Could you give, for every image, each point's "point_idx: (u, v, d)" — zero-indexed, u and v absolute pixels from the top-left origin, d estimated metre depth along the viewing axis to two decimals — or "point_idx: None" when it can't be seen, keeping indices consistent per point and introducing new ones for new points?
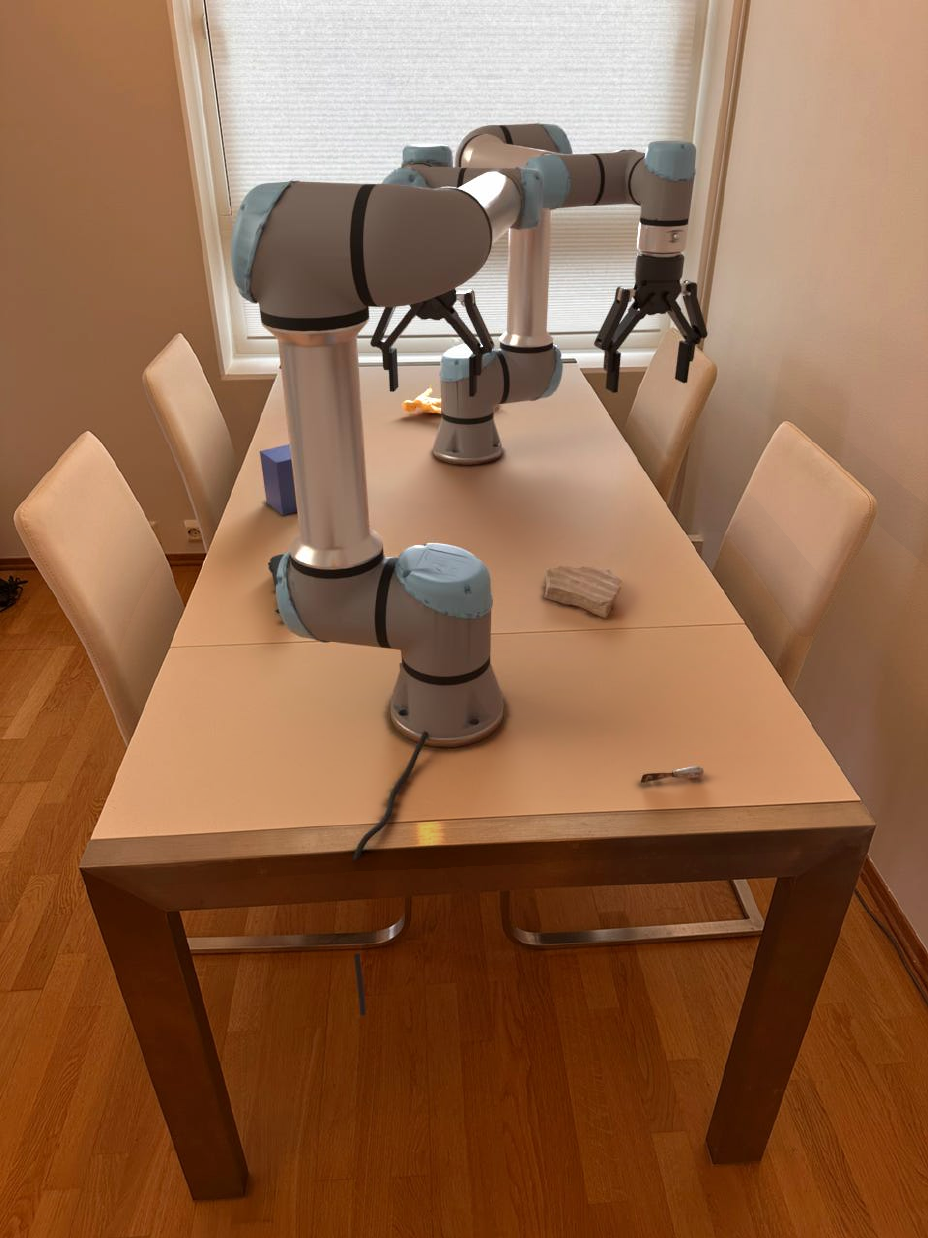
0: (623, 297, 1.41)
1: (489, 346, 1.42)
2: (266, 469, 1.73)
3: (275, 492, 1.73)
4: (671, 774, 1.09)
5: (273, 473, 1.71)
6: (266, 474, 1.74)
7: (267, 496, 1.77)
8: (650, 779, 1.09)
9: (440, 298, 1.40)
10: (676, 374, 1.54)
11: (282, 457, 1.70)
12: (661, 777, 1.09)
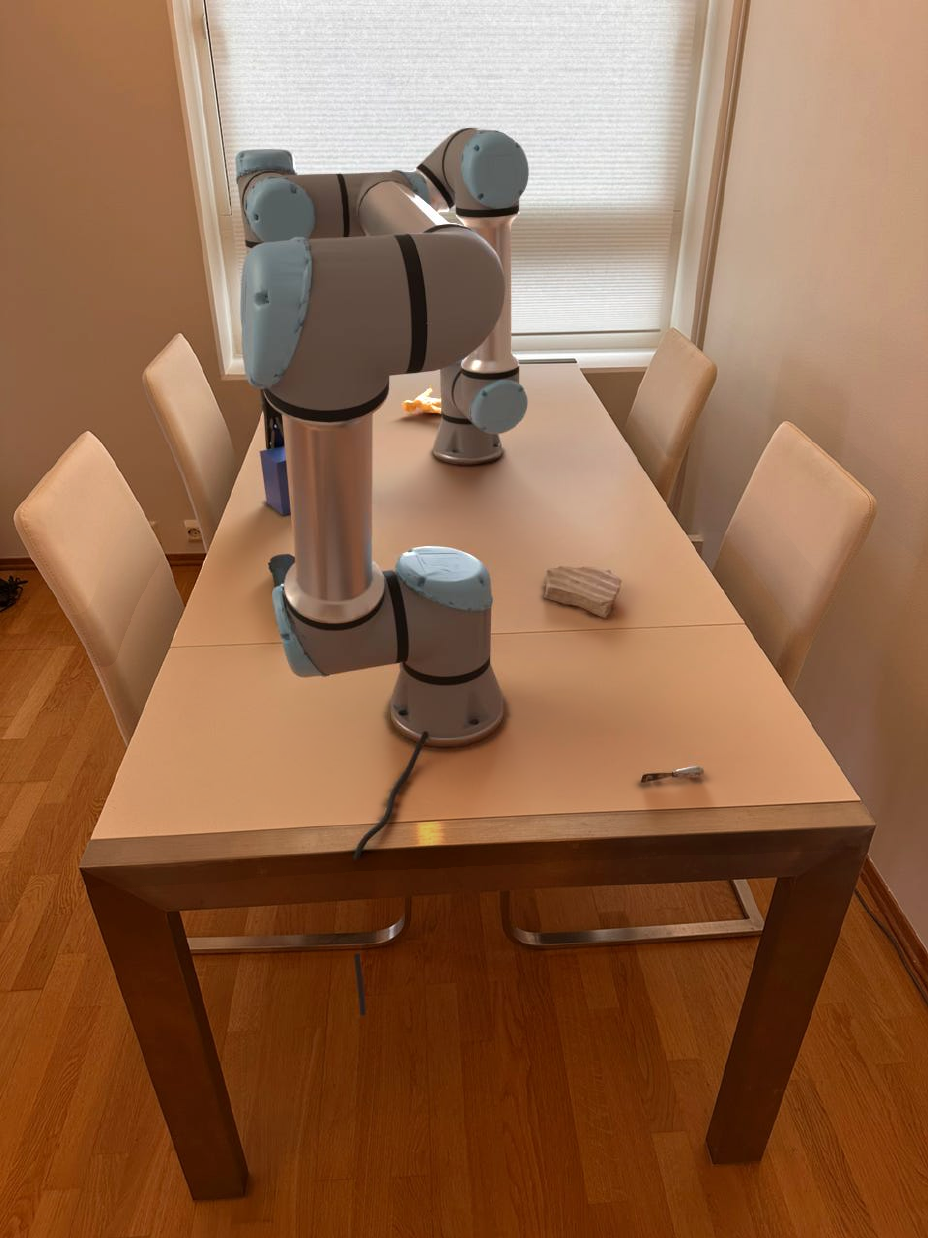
0: (263, 409, 1.73)
1: None
2: (266, 469, 1.73)
3: (275, 492, 1.73)
4: (671, 774, 1.09)
5: (273, 473, 1.71)
6: (266, 474, 1.74)
7: (267, 496, 1.77)
8: (650, 779, 1.09)
9: None
10: None
11: (282, 457, 1.70)
12: (661, 777, 1.09)
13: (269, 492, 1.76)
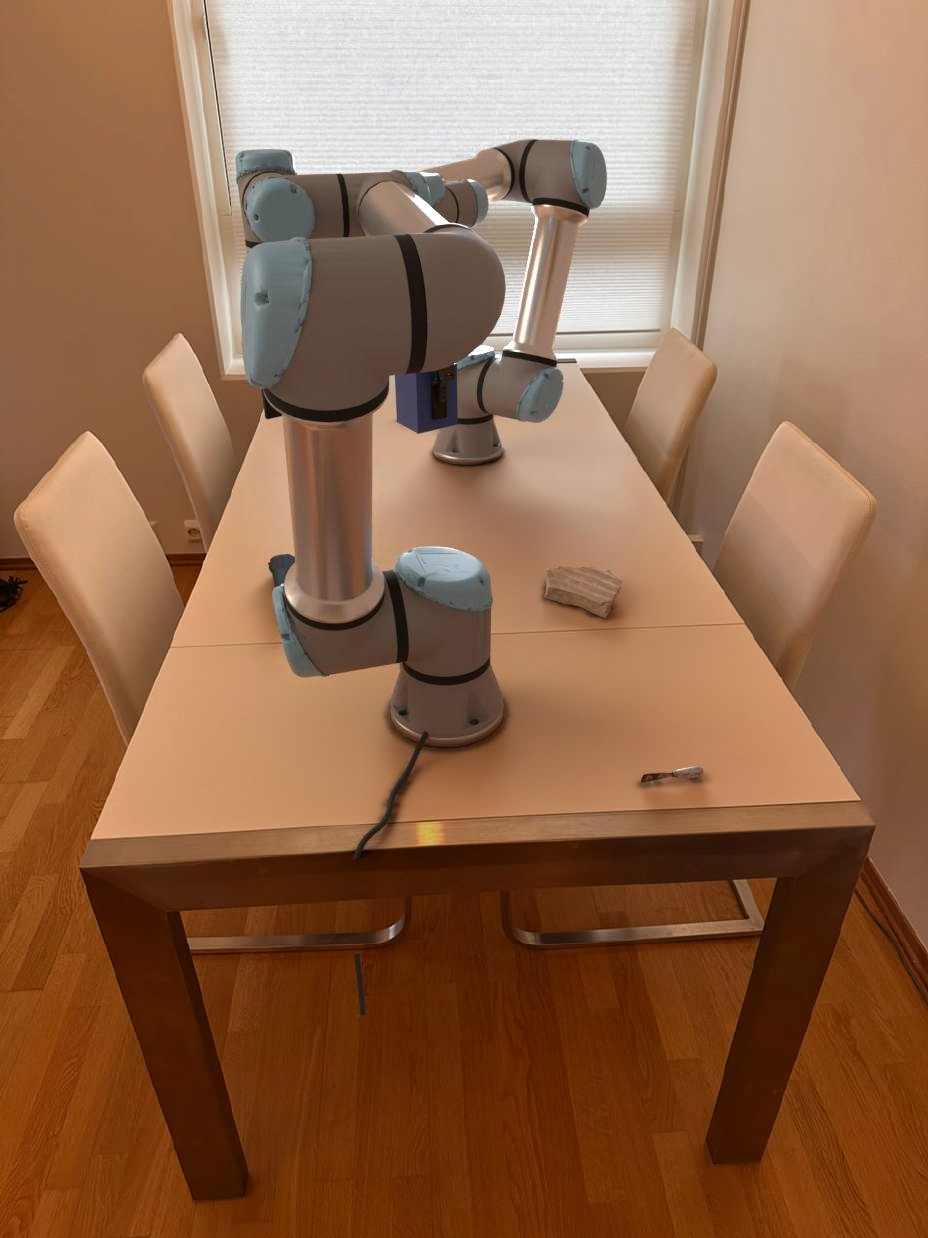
0: None
1: None
2: (400, 381, 1.56)
3: (411, 407, 1.55)
4: (671, 774, 1.09)
5: (410, 385, 1.53)
6: (401, 388, 1.56)
7: (399, 414, 1.60)
8: (650, 779, 1.09)
9: None
10: None
11: None
12: (661, 777, 1.09)
13: (402, 409, 1.58)
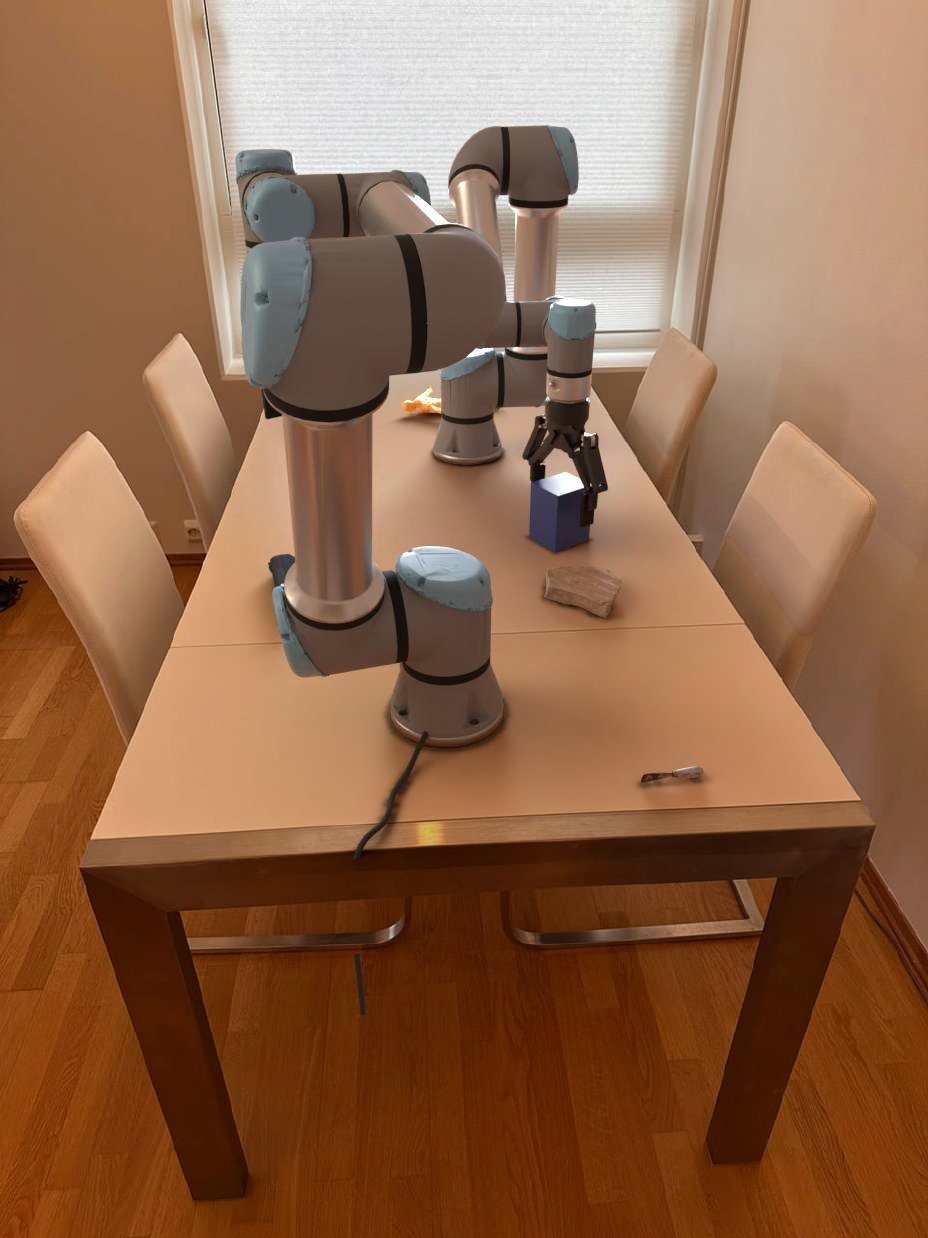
0: (535, 421, 1.58)
1: None
2: (537, 502, 1.60)
3: (548, 527, 1.60)
4: (671, 774, 1.09)
5: (550, 507, 1.57)
6: (537, 508, 1.60)
7: (532, 530, 1.64)
8: (650, 779, 1.09)
9: None
10: None
11: (561, 490, 1.56)
12: (661, 777, 1.09)
13: (537, 526, 1.62)
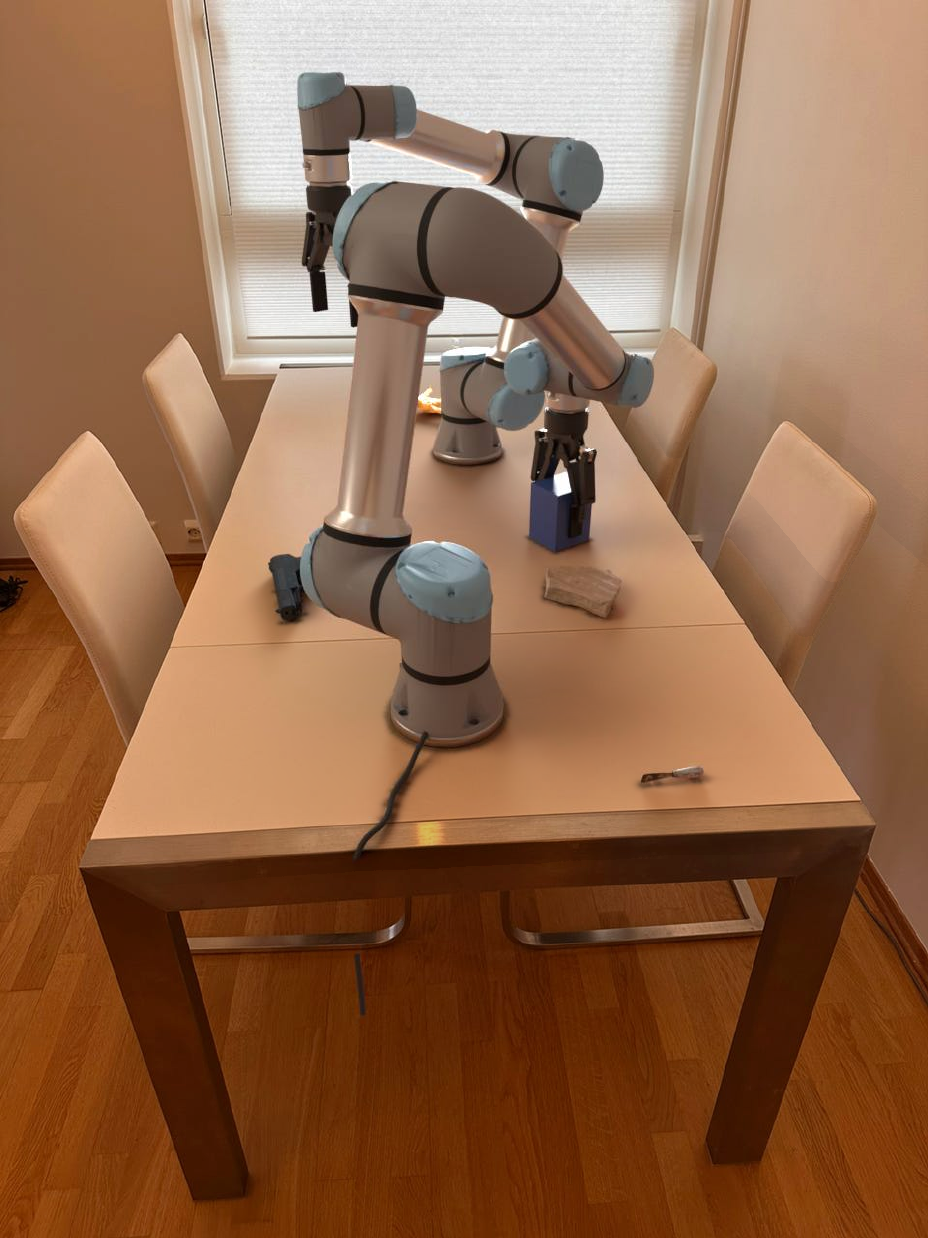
0: (306, 219, 1.52)
1: (541, 472, 1.65)
2: (537, 502, 1.60)
3: (548, 527, 1.60)
4: (671, 774, 1.09)
5: (550, 507, 1.57)
6: (537, 508, 1.60)
7: (532, 530, 1.64)
8: (650, 779, 1.09)
9: None
10: None
11: (561, 490, 1.56)
12: (661, 777, 1.09)
13: (537, 526, 1.62)
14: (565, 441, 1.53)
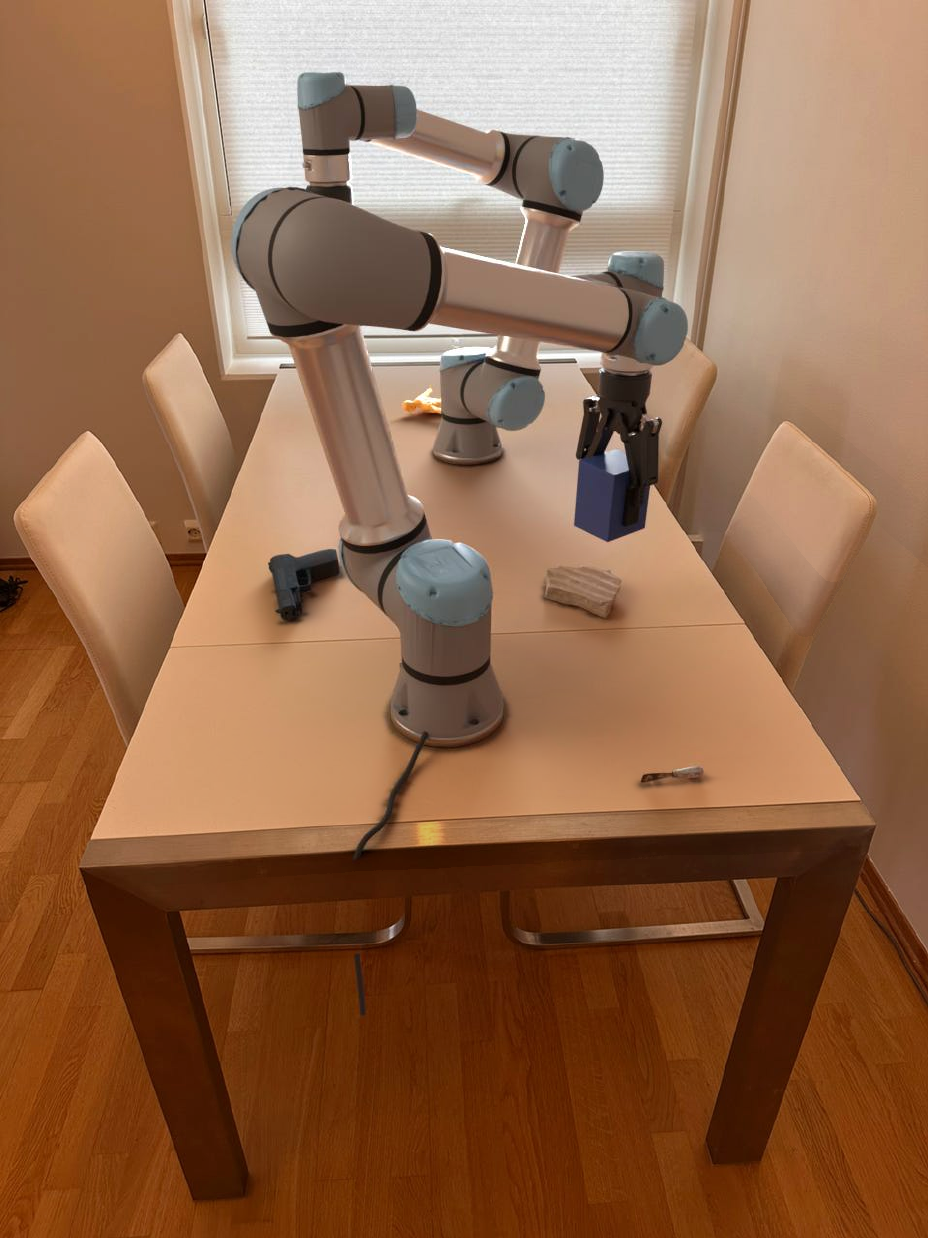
0: None
1: None
2: (587, 483, 1.35)
3: (600, 513, 1.35)
4: (671, 774, 1.09)
5: (603, 489, 1.33)
6: (586, 490, 1.36)
7: (578, 517, 1.39)
8: (650, 779, 1.09)
9: None
10: None
11: (616, 468, 1.32)
12: (661, 777, 1.09)
13: (585, 512, 1.38)
14: (623, 410, 1.29)
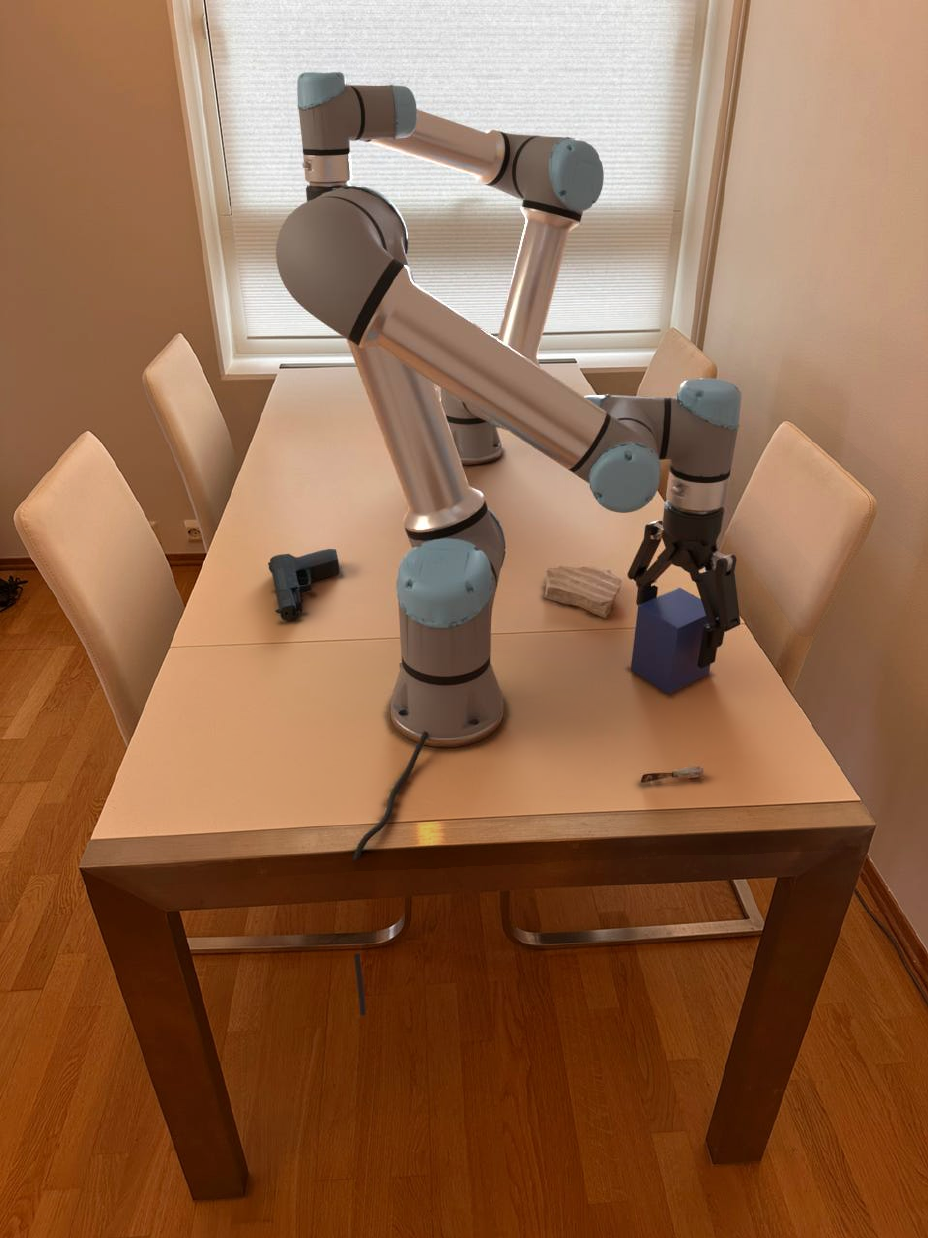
0: None
1: (641, 567, 1.28)
2: (646, 630, 1.24)
3: (660, 663, 1.23)
4: (671, 774, 1.09)
5: (665, 640, 1.21)
6: (645, 637, 1.24)
7: (636, 663, 1.28)
8: (650, 779, 1.09)
9: None
10: None
11: (680, 618, 1.20)
12: (661, 777, 1.09)
13: (643, 659, 1.26)
14: (691, 547, 1.16)
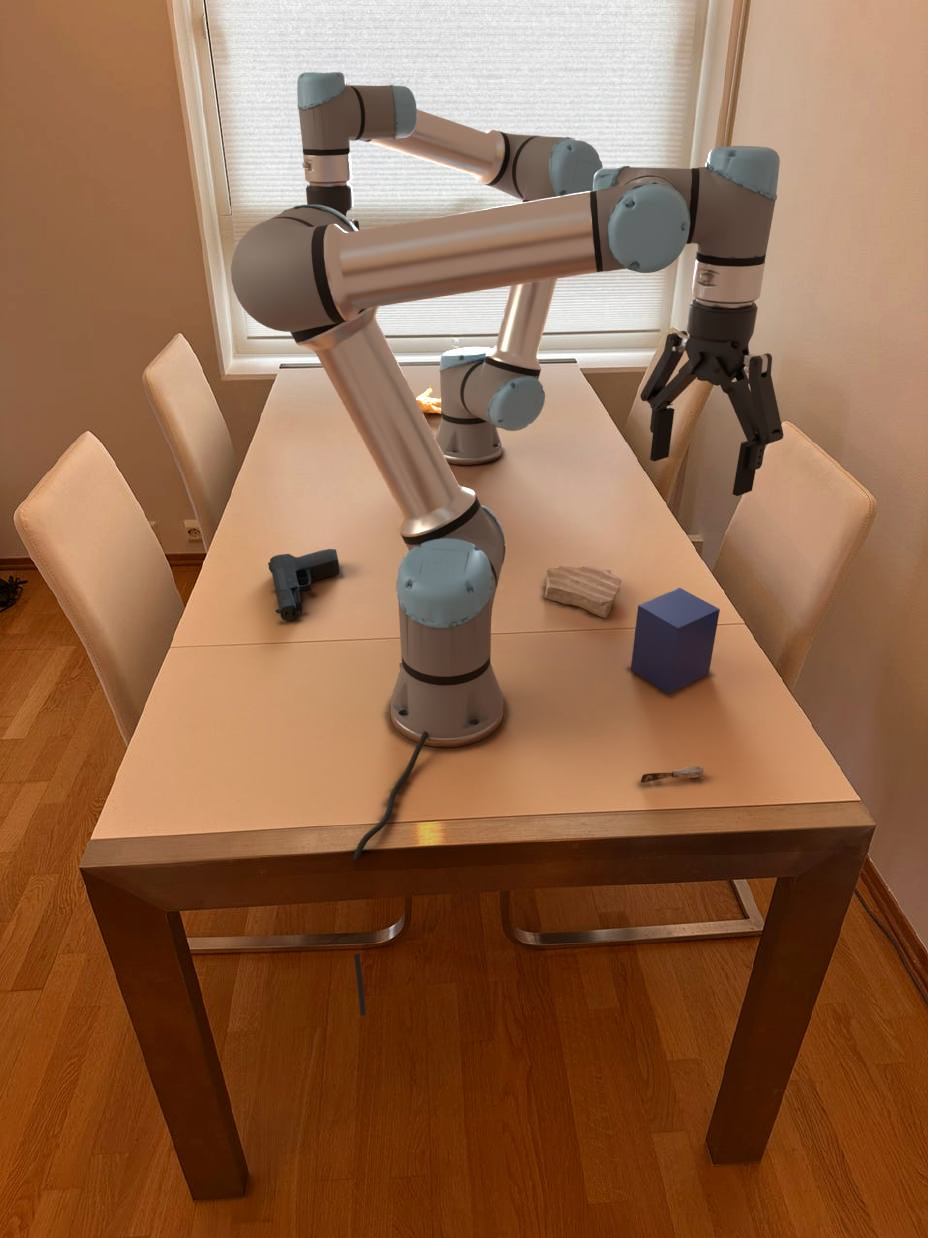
0: None
1: None
2: (646, 630, 1.24)
3: (660, 663, 1.23)
4: (671, 774, 1.09)
5: (665, 640, 1.21)
6: (645, 637, 1.24)
7: (636, 663, 1.28)
8: (650, 779, 1.09)
9: None
10: None
11: (680, 618, 1.20)
12: (661, 777, 1.09)
13: (643, 659, 1.26)
14: (719, 353, 1.03)
